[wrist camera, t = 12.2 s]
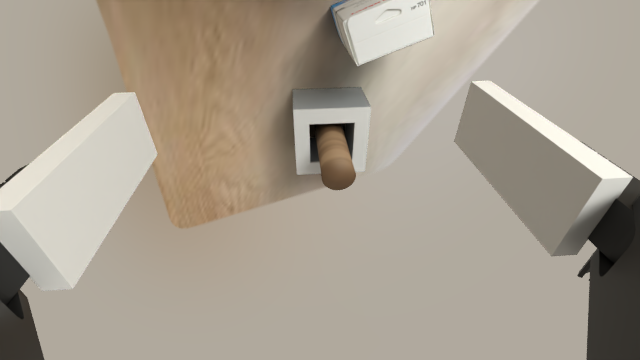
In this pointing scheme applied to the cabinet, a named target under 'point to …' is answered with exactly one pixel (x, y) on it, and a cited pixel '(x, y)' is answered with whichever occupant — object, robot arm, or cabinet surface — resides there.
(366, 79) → the cabinet surface
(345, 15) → the ink box
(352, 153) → the socket block
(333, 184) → the walnut dowel
